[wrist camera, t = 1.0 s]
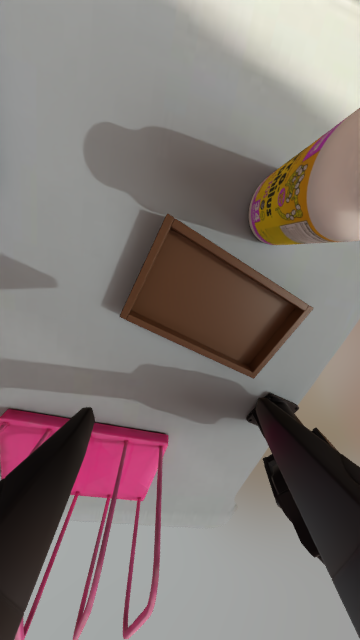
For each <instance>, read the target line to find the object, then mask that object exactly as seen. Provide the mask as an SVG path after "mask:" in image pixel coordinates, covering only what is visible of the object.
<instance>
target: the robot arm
mask: <svg viewBox="0 0 360 640" xmlns="http://www.w3.org/2000/svg"><path fill="white" fill-rule="evenodd" d="M298 409H299V407H298V406H297V405H296V404H294V403H292V402H290V401H287V400H285V399H283V398H281V397H278V396H276V395H274V394H271V393H270V394H268V395H267V396H266V397H265V398H259V399H258V401H257V406H256V408H255V409H254V410H253V411H252V412H251V413H250V415H249V416H248V417H247V421H248V422H250V423H252V424H255V425H258V427H259V429H260V430H261V432H262V434H263V436H264V438H265V439H266V441H267V443H268V445H269V448H270V450H271V452H272V455H270V456H268V457H265V458H263V461H264V465H265V469H266V472H267V475H268V479H269V482H270V485H271V488H272V491H273V494H274V497H275V500H276V503H277V505H278V506H279V507H280V508H282V510H283V512H284V513H285V515H286V516H287V517H288V518H289V520H290V521H291V522H292V523H293V525H294V528H295V530H296V532H297V534H298V537H299V539H300V541H301V543H302V544H303V546H304V547H305V548H306V549H307V550H308V551H309V553H310V554H311V555H312V556H313V557H318V558H319V559H320V560H321V561H322V563H323V564H325V566H326V568H327V570H328V572H329V574H330V576H331V578H332V581H333V583H334V585H335V587H336V589H337V591H338V594H339V596H340V598H341V600H342V602H343V604H344V606H345V608H346V611H347V613H348V615H349V617H350V619H351V621H352V623H353V625H354V627H355V630H356V632H357V634H358V636H359V638H360V467H359V466H357V465H356V464H354V463H353V462H352V461H350V460H349V459H348V458H346V457H345V456H344V455H342V454H340V453H339V452H338V451H337V450H336V448H335V447H334V446H333V445H332V444H331V443H330V442H329V440H327V438H326V437H325V436H324V435H323V434H322V433H321V432H320V431H319V430H318V429H317V428H314V429H313V431H310V430H309V429H307V428H306V427H305V426H304V425H303V424H302V423H301V422H300V420H299V419H298V418H297V416H296V415H295V414H294V413H295V412H296V411H297V410H298ZM94 422H95V417H94V414H93V410H92V408H91V407H86V408H82V409H81V410H80V411H79V412H78V413H76V414H75V415H74V416H73V417H72V418H71V419H70V420H69V421H67V422H66V423H65V424H64V425H63V426H62V427H61V428H60V429H58V430H57V431H56V432H55V433H54V434H53V435H52V436H51V437H49V438H48V439H47V440H46V441H45V442H44V443H43V444H42V445H40V446H39V447H38V448H37V449H36V450H35V451H34V452H33V453H31V454H30V455H29V456H28V457H27V458H26V459H25V460H23V461H22V462H21V463H20V464H19V465H18V466H17V467H16V468H14V469H13V470H12V471H11V472H10V473H9V474H8V475H7V476H6V477H5V478H3V479H2V480H1V481H0V640H14V639H15V636H16V634H17V631H18V628H19V626H20V623H21V621H22V618H23V615H24V612H25V610H26V607H27V605H28V602H29V600H30V597H31V594H32V592H33V589H34V587H35V584H36V581H37V579H38V576H39V574H40V571H41V569H42V566H43V563H44V561H45V558H46V556H47V553H48V550H49V548H50V545H51V543H52V540H53V537H54V535H55V532H56V530H57V527H58V524H59V522H60V519H61V517H62V514H63V512H64V509H65V506H66V504H67V501H68V499H69V496H70V494H71V491H72V488H73V486H74V483H75V481H76V478H77V475H78V473H79V470H80V468H81V465H82V462H83V460H84V457H85V454H86V451H87V447H88V444H89V440H90V437H91V433H92V430H93V426H94Z"/></svg>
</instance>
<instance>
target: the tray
mask: <svg viewBox="0 0 360 640" xmlns="http://www.w3.org/2000/svg"><path fill="white" fill-rule="evenodd" d="M312 310H313V307H311V306H309V305H308V304H306V303H305V302H303V301H302V300H300V299H299V298H297V297H296V296H294V295H292V294H291V293H289V292H288V291H286V290H285V289H283V288H282V287H280V286H279V285H277V284H276V283H274V282H272V281H271V280H269V279H268V278H266V277H265V276H263V275H262V274H260V273H259V272H257V271H256V270H254V269H252V268H251V267H249V266H248V265H246V264H245V263H243V262H242V261H240V260H239V259H237V258H236V257H234V256H232V255H231V254H229V253H228V252H226V251H225V250H223V249H222V248H220V247H219V246H217V245H215V244H214V243H212V242H211V241H209V240H208V239H206V238H205V237H203V236H202V235H200V234H199V233H197V232H195V231H194V230H192V229H191V228H189V227H188V226H186V225H185V224H183V223H182V222H180V221H179V220H177V219H174V217H172V216H171V215H169V214H167V215H166V217H165V219H164V221H163V223H162V226H161V228H160V230H159V232H158V234H157V236H156V239H155V241H154V243H153V245H152V247H151V249H150V252H149V254H148V256H147V258H146V260H145V262H144V265H143V267H142V269H141V271H140V273H139V275H138V278H137V280H136V282H135V284H134V286H133V288H132V291H131V293H130V295H129V297H128V299H127V301H126V304H125V306H124V308H123V310H122V312H121V314H120V317H121V318H123V319H126V320H127V321H129V322H132V323H134V324H136V325H138V326H140V327H143V328H145V329H147V330H149V331H151V332H153V333H156V334H158V335H160V336H162V337H164V338H166V339H169V340H171V341H173V342H175V343H177V344H180V345H182V346H184V347H186V348H188V349H190V350H193V351H195V352H197V353H199V354H201V355H203V356H206V357H208V358H210V359H212V360H214V361H217V362H219V363H221V364H223V365H225V366H227V367H230V368H232V369H234V370H236V371H238V372H240V373H243V374H245V375H247V376H250V377H252V378H255V377H256V375H257V374H258V373H259V372H260V371H261V370H262V368H263V367H264V366H265V365H266V364H267V363H268V361H269V360H270V359H271V358H272V357H273V356H274V354H275V353H276V352H277V351H278V350H279V348H280V347H281V346H282V345H283V344H284V343H285V341H286V340H287V339H288V338H289V337H290V336H291V334H292V333H293V332H294V331H295V330H296V329H297V327H298V326H299V325H300V324H301V323H302V321H303V320H304V319H305V318H306V317H307V316H308V314H309V313H310V312H311V311H312Z"/></svg>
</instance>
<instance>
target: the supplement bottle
mask: <svg viewBox="0 0 360 640" xmlns="http://www.w3.org/2000/svg"><path fill="white" fill-rule="evenodd" d="M249 223H250V227H251V230H252V232H253V233H254V235H255V236H256V237H257V238H258V239H259V240H260V241H262V242H264V243H266V244H270V245H289V244H308V243H328V242H348V241H358V240H360V108H359V109H358V110H356V111H355V112H354V113H352V114H351V115H350V116H348V117H347V118H346V119H344V120H343V121H342V122H340V123H339V124H338V125H336V126H335V127H334V128H332V129H331V130H330V131H328V132H327V133H326V134H324V135H323V136H322V137H320V138H319V139H318V140H316V141H315V142H314V143H312V144H311V145H310V146H308V147H307V148H305V149H304V150H303V151H301V152H300V153H299V154H298V155H296V156H295V157H293V158H292V159H291V160H289V161H288V162H287V163H285V164H284V165H283V166H281V167H280V168H279V169H277V170H276V171H275V172H273V173H272V174H271V175H269V176H268V177H267V178H266V179H265V180H264V181H263V182H262V183H261V184H260V185H259V187H258V188H257V190H256V191H255V193H254V195H253V197H252V200H251V203H250V207H249Z"/></svg>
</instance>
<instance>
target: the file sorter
mask: <svg viewBox="0 0 360 640" xmlns="http://www.w3.org/2000/svg"><path fill="white" fill-rule="evenodd" d="M69 420H70V419H68V418H62V417H56V416H49V415H43V414H37V413H31V412H25V411H18V410H12V409H8V410H7V411H6V412H5V413H4V414H3V415H2V416H1V417H0V460H1V480H2V479H3V478H5V477H6V476H7V475H8V474H9V473H10V472H11V471H12V470H13V469H14V468H16V467H17V466H18V465H19V464H20V463H21V462H22V461H23V460H25V459H26V458H27V457H28V456H29V455H30V454H31V453H33V452H34V451H35V450H36V449H37V448H38V447H39V446H40V445H42V444H43V443H44V442H45V441H46V440H47V439H48V438H49V437H51V436H52V435H53V434H54V433H55V432H56V431H57V430H58V429H60V428H61V427H62V426H63V425H64V424H65V423H66V422H67V421H69ZM167 446H168V435H165V434H159V433H153V432H147V431H141V430H135V429H129V428H123V427H117V426H111V425H105V424H98V423H94V426H93V430H92V433H91V437H90V440H89V444H88V447H87V451H86V454H85V457H84V460H83V462H82V465H81V468H80V470H79V473H78V475H77V478H76V481H75V483H74V486H73V488H72V491H71V494H70V495H75V496H74V499H73V502H72V504H71V507H70V509H69V512H68V515H67V517H66V520H65V522H64V525H63V528H62V530H61V533H60V535H59V538H58V541H57V543H56V546H55V548H54V551H53V554H52V556H51V559H50V562H49V564H48V567H47V570H46V572H45V575H44V577H43V580H42V583H41V585H40V588H39V590H38V593H37V595H36V598H35V600H34V603H33V606H32V608H31V611H30V613H29V616H28V619H27V621H26V624H25V626H24V627H23V618H22V621H21V623H20V626H19V628H18V631H17V634H16V636H15V640H24V638H25V636H26V634H27V631H28V629H29V626H30V624H31V621H32V619H33V616H34V613H35V610H36V608H37V605H38V603H39V600H40V597H41V595H42V592H43V589H44V586H45V584H46V581H47V578H48V576H49V573H50V570H51V568H52V565H53V562H54V559H55V557H56V554H57V551H58V549H59V546H60V543H61V541H62V538H63V535H64V532H65V530H66V527H67V524H68V522H69V519H70V516H71V514H72V511H73V508H74V506H75V503H76V500H77V497H78V495H80V496H91V497H102V498H107V501H106V505H105V509H104V513H103V517H102V521H101V525H100V529H99V533H98V537H97V541H96V545H95V549H94V553H93V557H92V561H91V565H90V569H89V573H88V577H87V581H86V585H85V589H84V593H83V597H82V601H81V605H80V609H79V613H78V618H77V622H76V626H75V631H74V636H73V640H78V638H79V636H80V634H81V632H82V630H83V628H84V626H85V624H86V622H87V620H88V617H89V615H90V612H91V609H92V606H93V602H94V599H95V595H96V591H97V587H98V583H99V578H100V573H101V570H102V565H103V560H104V556H105V551H106V546H107V542H108V537H109V532H110V527H111V523H112V518H113V513H114V508H115V503H116V499H125V500H136V501H137V508H136V516H135V524H134V533H133V541H132V549H131V557H130V565H129V574H128V582H127V590H126V599H125V608H124V618H123V637H124V639H129V637H131V636H132V635H133V634H134V633H135V632H136V631H137V630H138V629H139V628H140V627H141V626H142V625H143V624H144V623H145V621H146V620H147V619H148V618H149V617H150V616H151V614H152V612H153V608H154V605H155V600H156V594H157V587H158V578H159V562H160V528H161V493H162V459H163V455H164V453H165V451H166V449H167ZM157 469H158V479H157V502H156V523H155V545H154V565H153V577H152V585H151V592H150V597H149V601H148V605H147V607H146V608H145V609H144V611H143V612H142V613H141V614H140V615H139V616H138V618H137V619H136V620H135V621H134V622H133V624H132V625H130V626H129V627H128V609H129V600H130V589H131V581H132V572H133V563H134V554H135V546H136V537H137V527H138V519H139V510H140V501H143V500H144V498H145V496H146V494H147V492H148V489H149V487H150V485H151V483H152V480H153V478H154V476H155V474H156V471H157ZM110 498H112V500H111V505H110V509H109V514H108V518H107V523H106V527H105V532H104V536H103V540H102V545H101V549H100V554H99V558H98V562H97V567H96V571H95V575H94V579H93V583H92V587H91V591H90V595H89V598H88V602H87V605H86V608H85V610H84V606H85V602H86V598H87V594H88V589H89V585H90V581H91V577H92V573H93V568H94V564H95V560H96V555H97V552H98V547H99V543H100V539H101V535H102V530H103V526H104V522H105V518H106V514H107V509H108V505H109V501H110ZM83 611H84V613H83Z"/></svg>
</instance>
